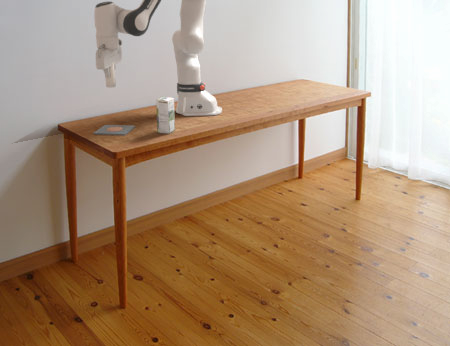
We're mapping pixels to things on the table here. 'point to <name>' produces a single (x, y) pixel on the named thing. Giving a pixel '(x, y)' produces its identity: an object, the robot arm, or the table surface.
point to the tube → (111, 77)
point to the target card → (114, 130)
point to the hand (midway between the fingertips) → (110, 76)
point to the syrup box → (165, 115)
